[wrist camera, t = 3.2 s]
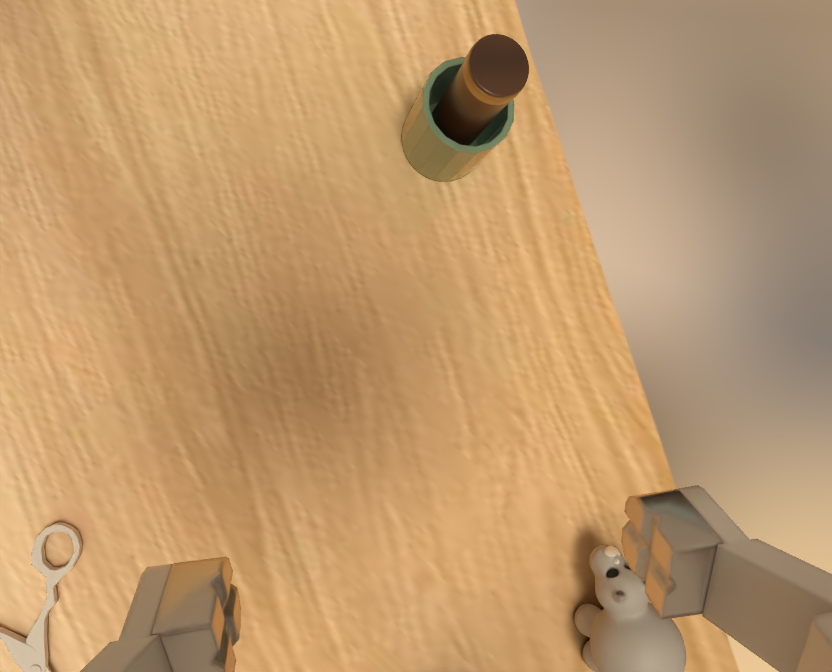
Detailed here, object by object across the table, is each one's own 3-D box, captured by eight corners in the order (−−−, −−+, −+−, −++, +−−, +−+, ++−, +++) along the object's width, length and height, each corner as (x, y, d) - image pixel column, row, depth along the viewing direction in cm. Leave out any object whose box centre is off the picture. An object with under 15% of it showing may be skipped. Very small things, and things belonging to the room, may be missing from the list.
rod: (413, 121, 50) (460, 40, 37) (457, 109, 51) (517, 26, 38) (429, 168, 50) (481, 103, 37) (473, 155, 51) (538, 88, 38)
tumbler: (389, 112, 50) (409, 69, 43) (464, 91, 51) (496, 48, 44) (417, 191, 50) (441, 163, 43) (491, 169, 52) (526, 138, 44)
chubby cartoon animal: (620, 518, 53) (683, 547, 45) (647, 648, 54) (715, 701, 45) (548, 540, 52) (600, 575, 43) (576, 675, 52) (633, 735, 44)
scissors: (64, 499, 43) (150, 762, 43) (68, 497, 43) (152, 755, 44) (-104, 555, 40) (-11, 833, 41) (-97, 552, 41) (-5, 825, 41)
